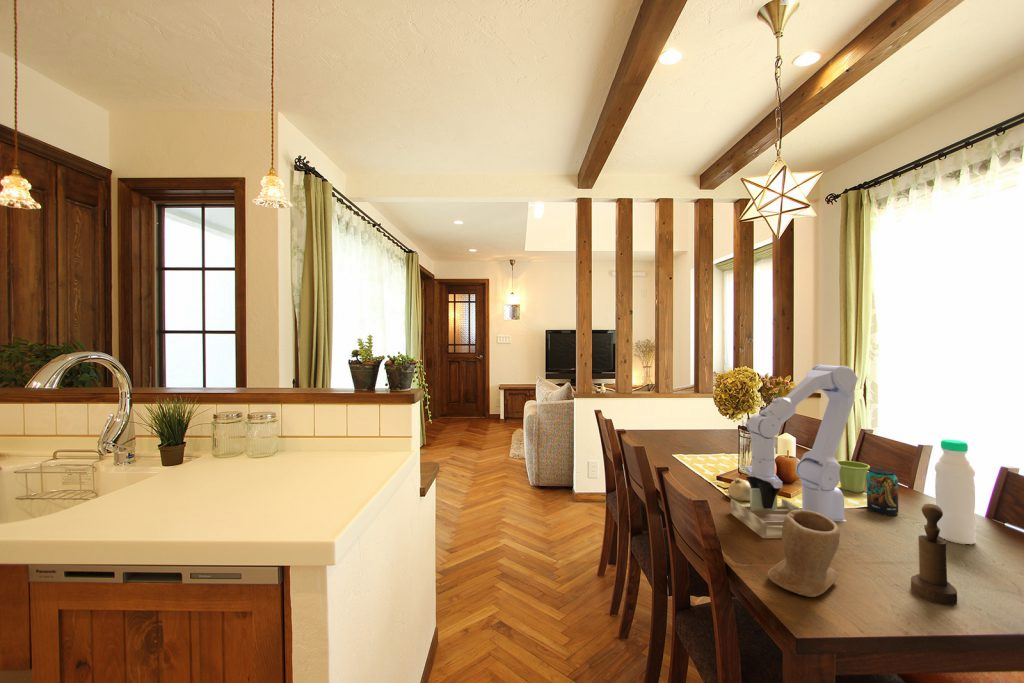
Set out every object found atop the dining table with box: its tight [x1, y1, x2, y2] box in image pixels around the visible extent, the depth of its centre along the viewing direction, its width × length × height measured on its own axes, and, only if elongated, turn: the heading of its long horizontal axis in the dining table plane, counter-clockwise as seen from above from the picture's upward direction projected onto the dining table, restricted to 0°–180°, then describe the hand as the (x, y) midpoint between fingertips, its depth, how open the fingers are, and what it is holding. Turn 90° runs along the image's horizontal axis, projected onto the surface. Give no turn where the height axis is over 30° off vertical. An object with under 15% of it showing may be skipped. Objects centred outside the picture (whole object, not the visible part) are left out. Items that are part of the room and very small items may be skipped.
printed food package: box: [866, 467, 899, 516], centre depth 126 cm, size 7×7×12 cm
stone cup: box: [767, 508, 841, 598], centre depth 89 cm, size 15×12×15 cm
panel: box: [749, 488, 778, 510], centre depth 122 cm, size 1×7×8 cm, turn 90°
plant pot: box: [837, 460, 871, 493], centre depth 145 cm, size 9×9×9 cm
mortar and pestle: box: [910, 503, 958, 606], centre depth 84 cm, size 7×6×18 cm
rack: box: [730, 498, 803, 539], centre depth 117 cm, size 16×16×5 cm
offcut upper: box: [755, 514, 786, 521], centre depth 117 cm, size 4×10×1 cm, turn 86°
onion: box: [727, 477, 751, 502], centre depth 136 cm, size 8×8×7 cm
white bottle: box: [934, 439, 977, 545], centre depth 108 cm, size 7×7×25 cm
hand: (763, 505), depth 122 cm, fingers open, 3 cm apart
